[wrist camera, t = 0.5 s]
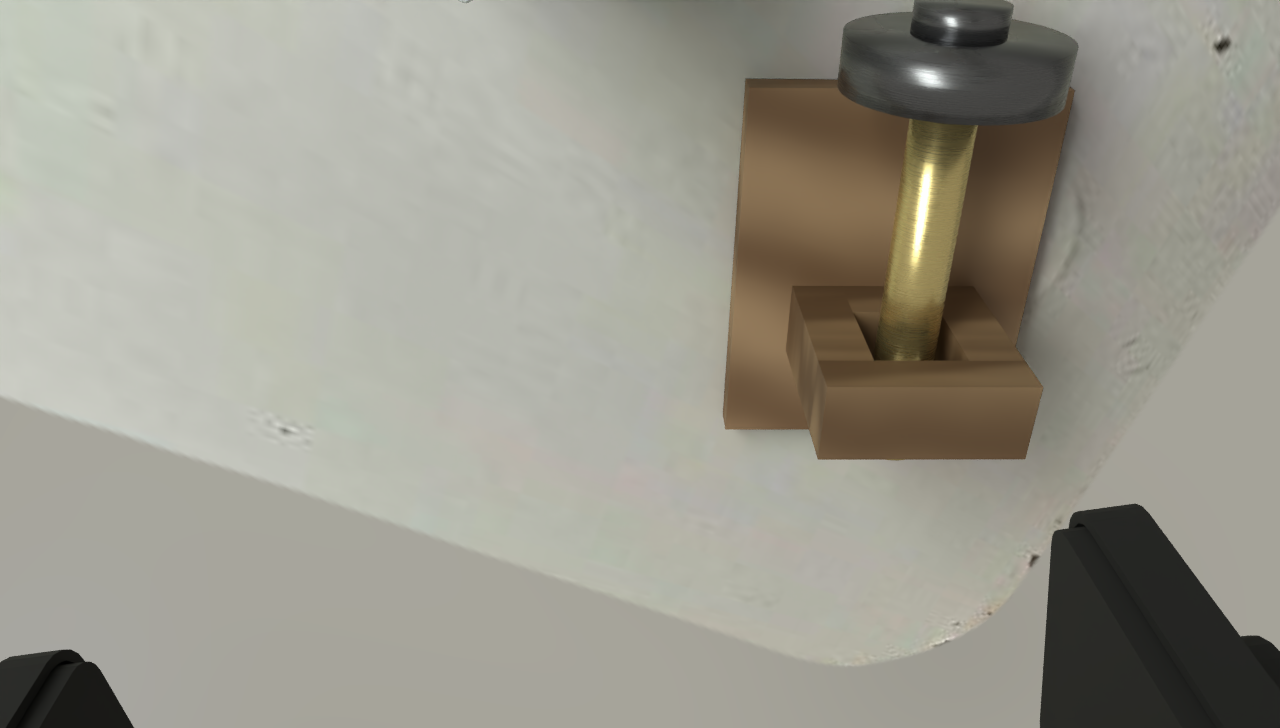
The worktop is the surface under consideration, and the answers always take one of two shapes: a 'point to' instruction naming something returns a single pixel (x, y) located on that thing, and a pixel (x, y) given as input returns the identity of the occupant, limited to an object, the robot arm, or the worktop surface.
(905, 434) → the eye post
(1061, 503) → the worktop surface
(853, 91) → the brass peg with disc
